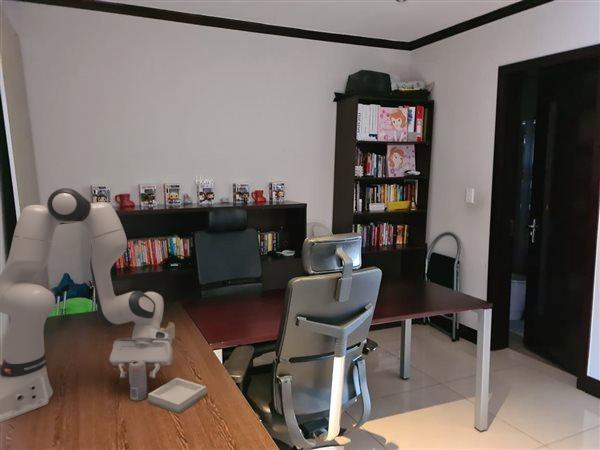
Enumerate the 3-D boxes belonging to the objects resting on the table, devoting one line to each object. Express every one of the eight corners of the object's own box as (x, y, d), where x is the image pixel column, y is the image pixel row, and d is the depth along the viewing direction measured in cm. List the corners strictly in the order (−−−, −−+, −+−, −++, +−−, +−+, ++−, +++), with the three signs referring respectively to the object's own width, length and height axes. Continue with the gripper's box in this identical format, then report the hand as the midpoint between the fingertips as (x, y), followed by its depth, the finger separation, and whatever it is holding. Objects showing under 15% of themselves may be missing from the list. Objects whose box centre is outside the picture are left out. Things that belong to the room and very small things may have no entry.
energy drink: (141, 391, 156) (140, 357, 154) (150, 396, 152) (149, 362, 151) (126, 397, 152) (125, 363, 150) (135, 403, 148) (134, 368, 147)
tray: (178, 413, 143) (178, 404, 142) (148, 402, 149) (148, 394, 148) (206, 394, 154) (206, 386, 153) (176, 385, 160) (176, 377, 160)
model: (153, 346, 193) (153, 329, 192) (168, 337, 203) (168, 320, 202) (160, 347, 192) (159, 330, 191) (175, 338, 202) (174, 321, 201)
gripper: (112, 334, 156) (102, 374, 148) (172, 334, 157) (166, 374, 148) (117, 341, 161) (108, 380, 153) (176, 341, 162) (170, 380, 153)
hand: (137, 377), depth 151 cm, fingers open, 8 cm apart
